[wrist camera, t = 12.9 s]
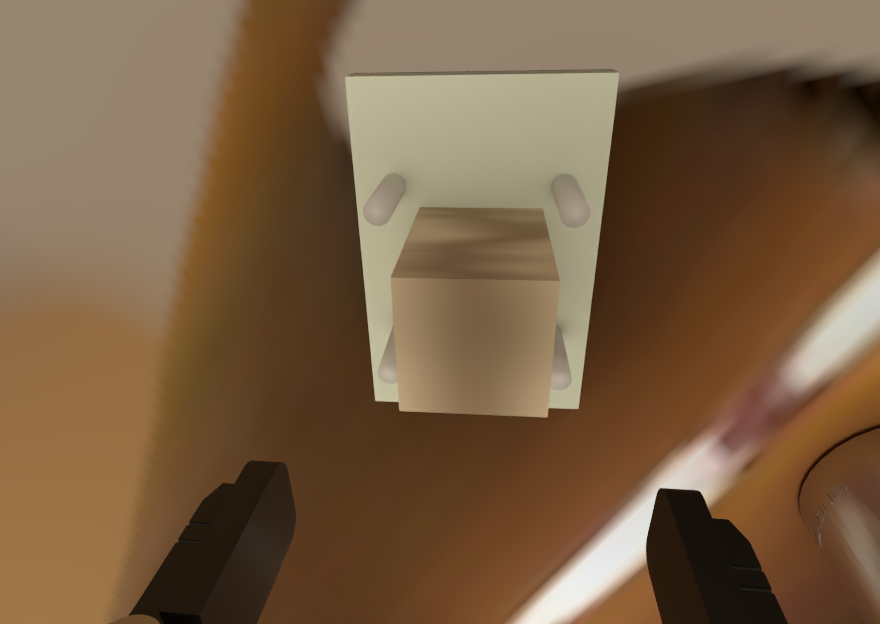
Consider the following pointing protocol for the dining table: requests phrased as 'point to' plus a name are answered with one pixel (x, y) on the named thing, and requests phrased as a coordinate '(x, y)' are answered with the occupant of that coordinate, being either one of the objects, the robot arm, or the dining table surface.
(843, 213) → the dining table surface
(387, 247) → the plate
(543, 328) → the maple block
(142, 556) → the dining table surface
